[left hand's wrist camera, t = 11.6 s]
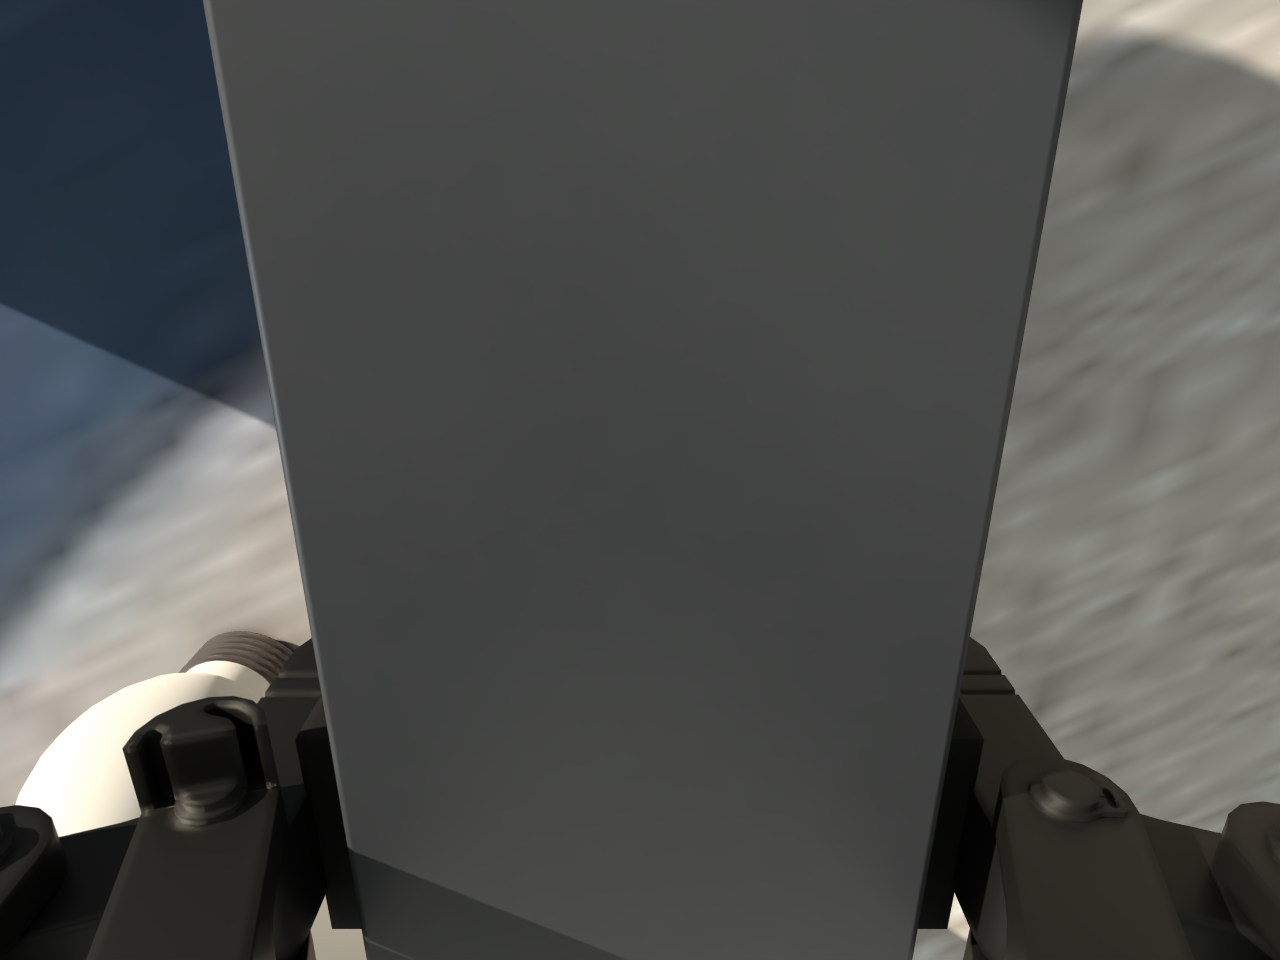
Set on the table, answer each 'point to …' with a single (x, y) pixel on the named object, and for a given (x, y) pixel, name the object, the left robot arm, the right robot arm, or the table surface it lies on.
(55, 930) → the left robot arm
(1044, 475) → the table surface
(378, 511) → the bar
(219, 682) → the light bulb
